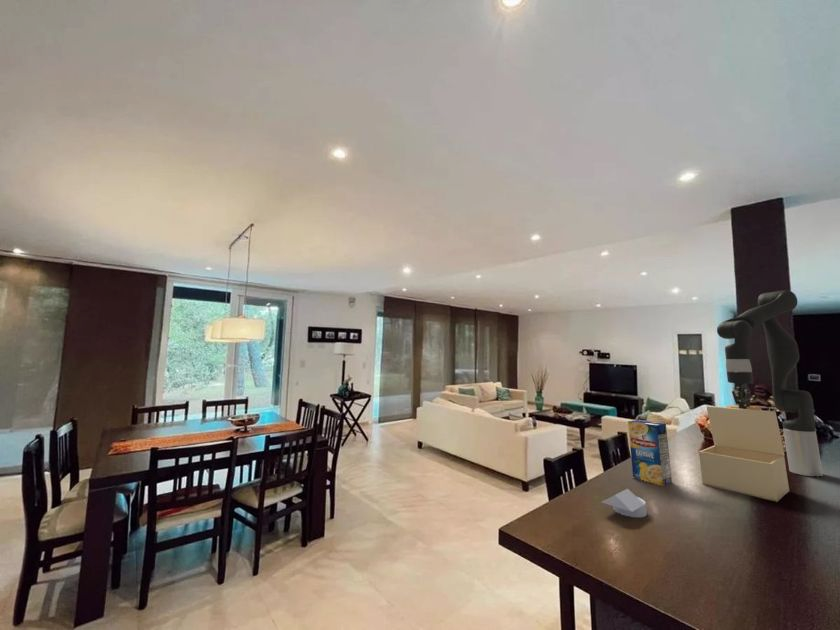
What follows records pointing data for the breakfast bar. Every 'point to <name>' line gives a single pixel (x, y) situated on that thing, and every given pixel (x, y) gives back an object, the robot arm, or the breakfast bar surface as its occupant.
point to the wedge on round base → (627, 504)
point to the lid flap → (745, 429)
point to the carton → (744, 472)
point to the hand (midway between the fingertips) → (744, 415)
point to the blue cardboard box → (650, 451)
